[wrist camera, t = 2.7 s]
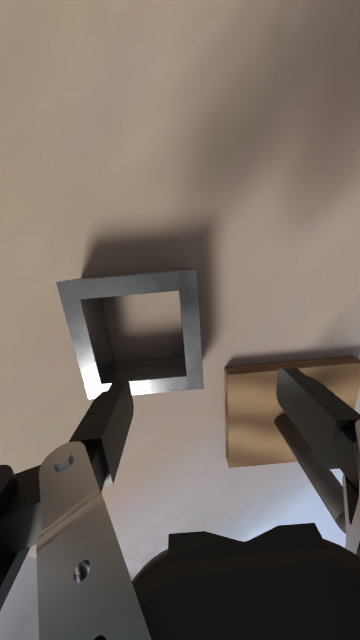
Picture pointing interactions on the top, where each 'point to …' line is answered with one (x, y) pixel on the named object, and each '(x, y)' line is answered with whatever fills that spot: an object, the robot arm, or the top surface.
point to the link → (94, 339)
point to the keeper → (284, 421)
